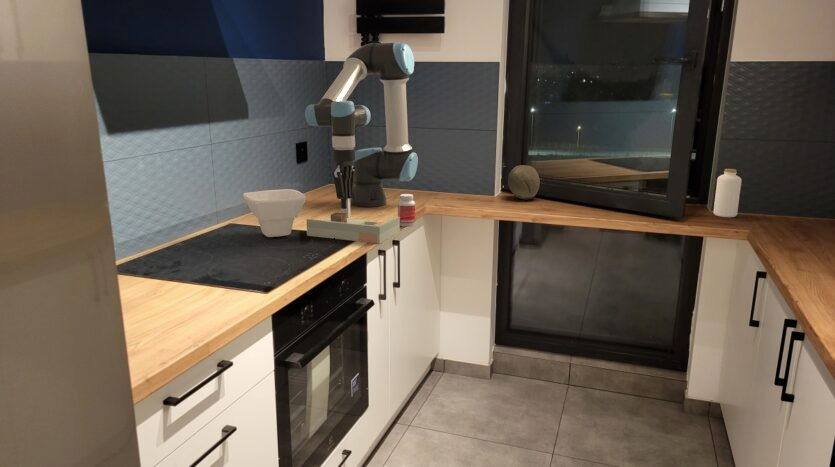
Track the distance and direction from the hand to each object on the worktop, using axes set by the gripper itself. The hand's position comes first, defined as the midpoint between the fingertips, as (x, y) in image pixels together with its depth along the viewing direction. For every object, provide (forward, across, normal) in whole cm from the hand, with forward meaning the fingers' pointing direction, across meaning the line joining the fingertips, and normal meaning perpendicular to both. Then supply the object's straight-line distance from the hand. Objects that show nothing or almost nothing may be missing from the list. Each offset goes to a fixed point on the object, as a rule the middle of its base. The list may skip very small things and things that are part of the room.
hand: (345, 217), depth 214 cm
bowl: (+5, +13, -19) cm, 24 cm away
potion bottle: (+6, -80, +123) cm, 147 cm away
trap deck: (+5, +1, +4) cm, 6 cm away
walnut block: (+2, +3, -1) cm, 4 cm away
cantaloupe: (+7, -83, +43) cm, 93 cm away
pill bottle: (+6, -18, +15) cm, 24 cm away
